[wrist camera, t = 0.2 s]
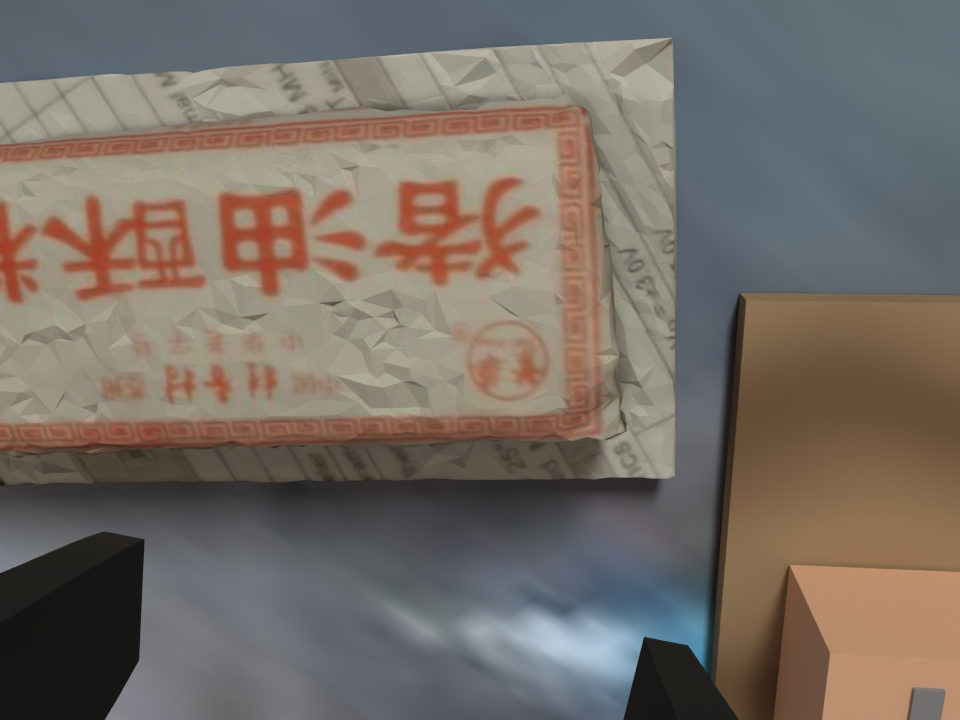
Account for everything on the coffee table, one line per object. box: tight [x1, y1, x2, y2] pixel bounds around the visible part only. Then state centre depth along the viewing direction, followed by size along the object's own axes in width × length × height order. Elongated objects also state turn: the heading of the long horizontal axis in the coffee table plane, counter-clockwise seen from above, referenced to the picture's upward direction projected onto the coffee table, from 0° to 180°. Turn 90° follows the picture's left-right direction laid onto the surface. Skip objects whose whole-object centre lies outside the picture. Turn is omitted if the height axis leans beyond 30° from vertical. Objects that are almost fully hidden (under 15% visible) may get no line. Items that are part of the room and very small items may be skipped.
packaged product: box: [0, 38, 677, 486], centre depth 19 cm, size 18×5×10 cm
